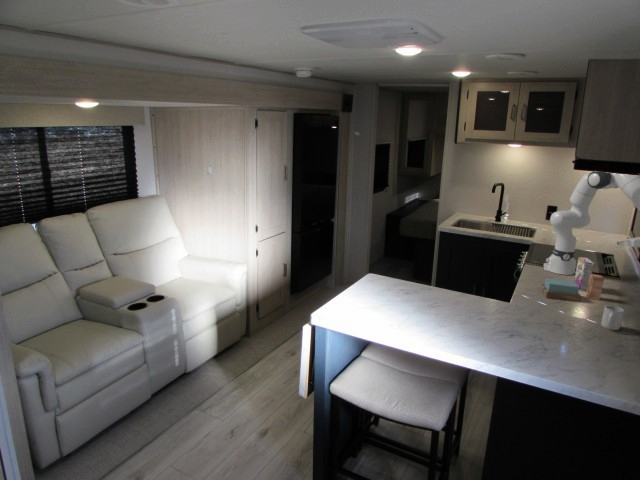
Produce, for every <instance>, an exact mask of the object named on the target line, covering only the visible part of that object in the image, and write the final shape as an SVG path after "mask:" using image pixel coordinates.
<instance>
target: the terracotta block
mask: <svg viewBox="0 0 640 480" xmlns="http://www.w3.org/2000/svg"><path fill="white" fill-rule="evenodd" d="M604 280H605V278H604V276H602V275H599V274H592V275H591V274H590V278H589V283H588V288H587V291H586V294H585V296H586V298H587V299H589V300H594V301H596V300H597V301H600V300H601V295H602V291H603V285H604Z"/></svg>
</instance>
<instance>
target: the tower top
mask: <svg viewBox="0 0 640 480" xmlns="http://www.w3.org/2000/svg"><path fill="white" fill-rule="evenodd" d="M544 284H545V287H546V288H547V290H548V291H552V292H560V293H568V294H576V295H578V293H579V286H578V285H577V284H576V283H575V282H574V280H566V279H565V280H564V279H556V278H548V277H545V279H544Z"/></svg>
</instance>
